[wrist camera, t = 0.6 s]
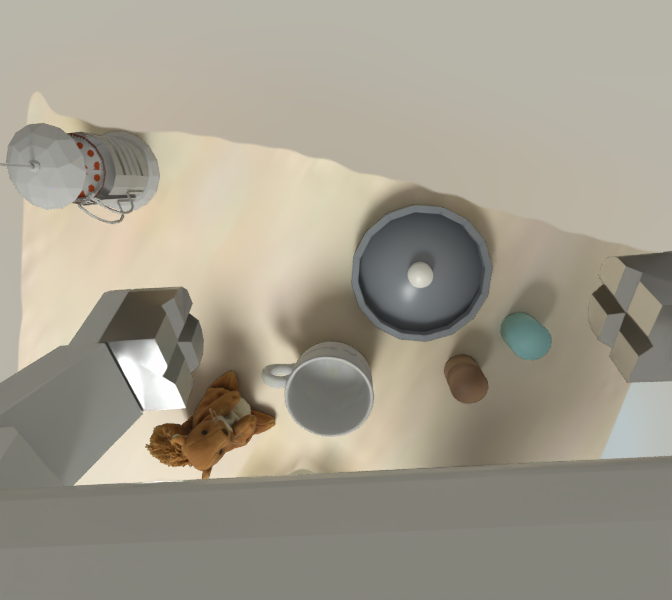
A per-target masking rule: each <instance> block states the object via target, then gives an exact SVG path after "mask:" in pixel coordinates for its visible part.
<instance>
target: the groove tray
mask: <svg viewBox="0 0 672 600" xmlns="http://www.w3.org/2000/svg"><path fill="white" fill-rule="evenodd" d="M491 274H492V265H491V261H490V257H489V253H488V249H487V246H486V242H485V240H484V239H483V238H482V237H481V236H480V234H479V233H478V232H477V231H476V229H475V228H474V227H473V226H472V224H471V223H470V222H469V221H468V220H467V219H465V218H463V217H461V216H459V215H457V214H455V213H453V212H451V211H449V210H448V209H446V208H444V207H440V206H428V205H414V204H413V205H409V206H406V207H403V208H400V209H397V210H394V211H391V212H388V213H386V214H385V215H384V216H383V217H382V218H380V219H379V220H378V221H377V222H376V223H375V224H373V225H372V226H371V227H370V228H369V229H368V230H367V231H366V232H365V234H364V236H363V238H362V240H361V242H360V244H359V246H358V248H357V250H356V252H355V254H354V257H353V270H352V287H353V290H354V293H355V296H356V299H357V302H358V305H359V308H360V309H361V310H362V311H363V313H364V314H365V315H366V316H367V317H368V318H369V319H370V321H371V322H372V323H373V324H374V325H375V326H376V327H377V328H378V329H380V330H382V331H384V332H386V333H388V334H390V335H392V336H394V337H396V338H398V339H401V340H412V341H423V342H426V341H431V340H435V339H438V338H442V337H445V336H449V335H452V334H454V333H455V332H456V331H458V330H459V329H460V328H462V327H463V326H464V325H466V324H467V323H468V322H470V321H471V320H472V319H474V318H473V317H475V316H476V314H477V312H478V311H479V309H480V308H481V306H482V304H483V303H484V301H485V299H486V298H487V296H488V295H487V294H488V293H489V287H490V280H491Z"/></svg>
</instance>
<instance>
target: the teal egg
mask: <svg viewBox="0 0 672 600" xmlns="http://www.w3.org/2000/svg"><path fill="white" fill-rule="evenodd" d="M500 332H501V336H502V338H503V339H504V341H505V342H506V343H507V344H508V345H509V347H510V348H511V349H512V350H513V351H514V352H515V354H516V355H517V356H519V357H520V358H522V359H525V360H536V359H539V358H541V357H543V356H544V355H545V354H546V353H547V352H548V351H549V349H550V347H551V342H552V340H551V335H550V333H549V331H548V330H547V329H546V328H545V327H543V326H542V325H541V324H540V323H539V322H537V321H536V320H535V319H534V318H532V317H531V316H530V315H528V314H526V313H521V312H519V313H513V314H511V315H509V316H508V317H507V318H505V320H504V321H503V323H502V325H501V329H500Z"/></svg>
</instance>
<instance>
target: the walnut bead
mask: <svg viewBox="0 0 672 600" xmlns="http://www.w3.org/2000/svg"><path fill="white" fill-rule="evenodd" d="M444 373H445V377H446V379H447V382H448V385H449V387H450V390H451V393H452V395H453V396H454V398H455V399H457V400H458V401H460V402H462V403H467V404H470V403H475V402H478V401H480V400H481V399H482V398H483V397H484V396H485V395H486V393H487V390H488V382H487V379H486V377H485V376H484V374H483V372H482V371H481V369H480V367H479V365H478V364H477V362H476V361H475V360H474V359H473V358H472V357H470V356H468V355H457V356H454V357H452V358H451V359H450V360H449V361H448V362H447V363H446V365H445V369H444Z"/></svg>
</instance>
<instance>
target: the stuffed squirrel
mask: <svg viewBox="0 0 672 600" xmlns="http://www.w3.org/2000/svg"><path fill="white" fill-rule="evenodd" d="M274 425H275V420H274V417H272V416H270V415H268V414H265V413H262V412H259V411H255V410H251V409H250V405H249V404H248V403H247V401H246V400H245V399H243V398H242V397H241V395H240V394H239V392H238V382H237V377H236V373H235V372H232V371H229V372H227V373H225V374H223V375H222V376H221V377H220V378H219V379H217V380H216V381H215V382H214V383H213V384H212V385H211V386H210V387H209V388H208V389H207V391H206V393H205V395H204V397H203V398H202V400H201V402H200V404H199V405H198V407H197V409H196V410H195V413H194V416H192V417H190V418H189V419H188V421H186V422H184V423H183V424H182V425H180V424H174V423H173V424H171V423H169V424H168V423H167V424H166V423H165V424H163V425H159V426H156V428H154V430H153V434H152V436H151V438H149V439H151V440H150V442H151V443H150V445H148V444H146V446H145V448H148V449H147V450H149V451H150V454H151V455H153V457H156V458H157V459H158V460H160V462H161V463H164V464H166V465H167V464H168V467H169V466H173V467H174V466H176V467H177V466H183V467H184V466H185V465H187V464H188V465H189V466H190V465H191V466H194V467H195V468H196V469H198V470H200V471H203V474H202V479H209V477H210V473H211V470H212V466H213V465H215V464H216V463H217V462H218V461H219V460H220V459H221V458H222V457H223V455H224V454H225V452H228V451H231V450H233V449H234V448H238V447H242V446H245V445H246V444H247V443H248V442H249V441H250V439H251V438H252V436H253V435H254V434H259V433H262V432H264V431H266V430H268V429H270V428H271V427H273V426H274ZM191 466H190V467H191Z"/></svg>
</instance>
